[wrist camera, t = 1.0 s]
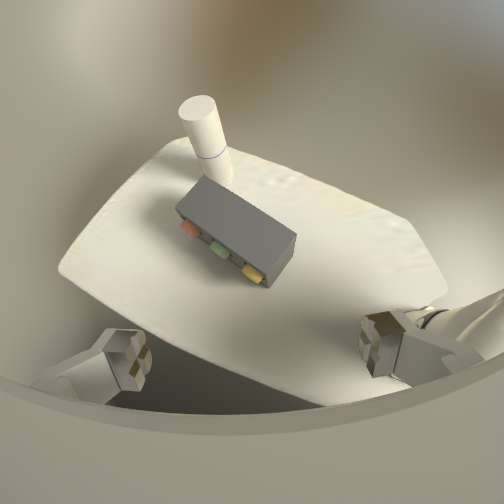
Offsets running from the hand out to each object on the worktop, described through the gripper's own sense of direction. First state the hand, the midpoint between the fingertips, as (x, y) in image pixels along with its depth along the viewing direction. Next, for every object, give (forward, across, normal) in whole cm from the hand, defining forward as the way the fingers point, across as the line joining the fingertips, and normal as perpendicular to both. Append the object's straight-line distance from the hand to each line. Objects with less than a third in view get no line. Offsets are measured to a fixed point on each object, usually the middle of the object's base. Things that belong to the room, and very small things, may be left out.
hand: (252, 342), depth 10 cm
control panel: (+54, -3, -11) cm, 55 cm away
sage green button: (+46, -6, -10) cm, 48 cm away
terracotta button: (+49, -12, -6) cm, 51 cm away
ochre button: (+43, 0, -14) cm, 45 cm away
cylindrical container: (+65, -8, +4) cm, 66 cm away
